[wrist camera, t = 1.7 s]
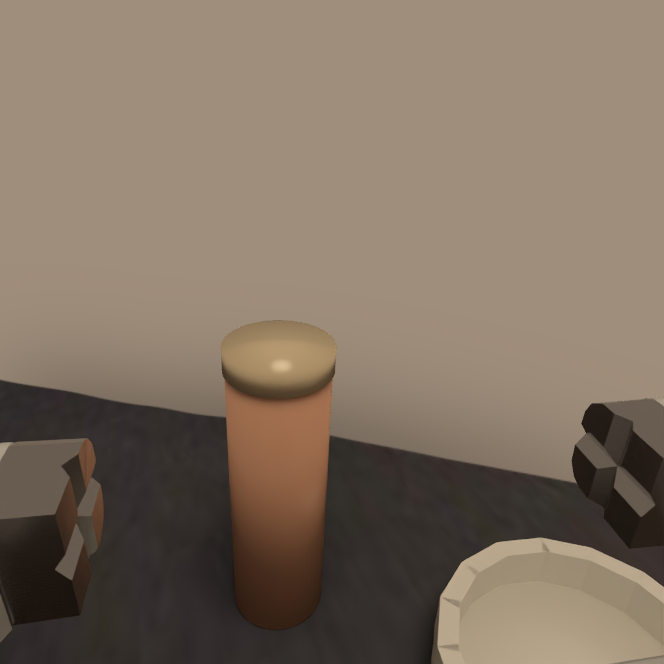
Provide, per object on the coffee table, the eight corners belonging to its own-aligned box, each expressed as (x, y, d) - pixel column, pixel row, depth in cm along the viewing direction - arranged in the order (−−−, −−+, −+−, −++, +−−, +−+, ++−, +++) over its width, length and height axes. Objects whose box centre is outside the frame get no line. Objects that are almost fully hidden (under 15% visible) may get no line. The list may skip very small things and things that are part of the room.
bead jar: (233, 637, 29) (219, 377, 22) (232, 558, 34) (221, 321, 27) (329, 625, 30) (346, 371, 23) (316, 550, 35) (326, 318, 28)
